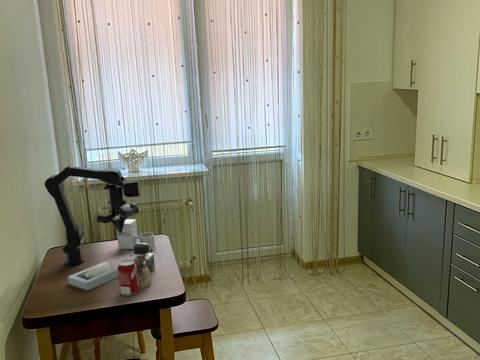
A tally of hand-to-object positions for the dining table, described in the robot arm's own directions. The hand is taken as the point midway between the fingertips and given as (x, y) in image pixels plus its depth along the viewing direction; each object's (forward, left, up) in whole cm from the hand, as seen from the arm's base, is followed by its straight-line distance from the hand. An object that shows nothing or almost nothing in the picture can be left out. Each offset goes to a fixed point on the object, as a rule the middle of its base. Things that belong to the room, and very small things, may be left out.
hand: (120, 232), depth 211 cm
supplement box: (-10, +12, -12) cm, 20 cm away
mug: (-2, +14, -12) cm, 19 cm away
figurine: (+28, -14, -12) cm, 34 cm away
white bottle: (+6, -13, -10) cm, 18 cm away
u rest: (+8, -20, -12) cm, 25 cm away
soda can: (+30, -22, -12) cm, 39 cm away
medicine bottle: (+20, -6, -12) cm, 24 cm away
